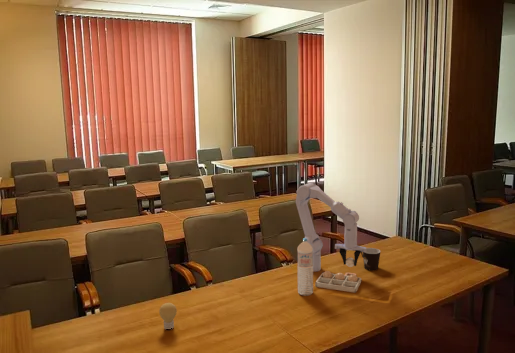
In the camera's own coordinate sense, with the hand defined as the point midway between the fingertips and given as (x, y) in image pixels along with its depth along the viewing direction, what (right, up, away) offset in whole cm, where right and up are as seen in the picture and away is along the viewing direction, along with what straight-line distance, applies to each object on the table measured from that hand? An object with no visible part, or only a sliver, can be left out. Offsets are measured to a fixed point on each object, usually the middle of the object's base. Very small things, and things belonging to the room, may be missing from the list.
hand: (350, 264), depth 208 cm
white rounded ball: (0, -1, 0) cm, 1 cm away
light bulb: (-78, -16, -41) cm, 89 cm away
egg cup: (0, -7, +1) cm, 7 cm away
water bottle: (-23, -10, -14) cm, 28 cm away
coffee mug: (+13, -5, +12) cm, 18 cm away
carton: (-7, -8, -8) cm, 13 cm away
